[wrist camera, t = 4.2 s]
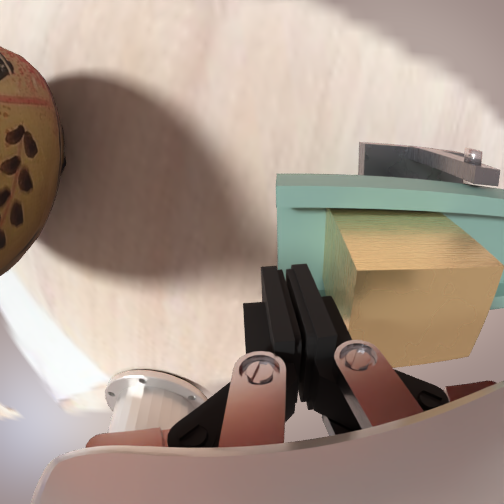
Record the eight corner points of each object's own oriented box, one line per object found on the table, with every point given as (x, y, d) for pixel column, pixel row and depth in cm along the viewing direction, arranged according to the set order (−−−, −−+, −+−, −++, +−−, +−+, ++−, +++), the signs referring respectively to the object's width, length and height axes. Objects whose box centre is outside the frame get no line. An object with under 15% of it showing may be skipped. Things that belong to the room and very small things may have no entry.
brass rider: (418, 275, 16) (468, 356, 10) (322, 277, 17) (339, 371, 10) (430, 204, 14) (504, 265, 8) (326, 201, 15) (357, 270, 8)
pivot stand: (440, 264, 25) (492, 314, 17) (349, 274, 25) (391, 339, 17) (458, 142, 20) (531, 163, 12) (359, 130, 19) (426, 144, 12)
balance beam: (543, 281, 16) (568, 307, 13) (278, 292, 19) (276, 337, 15) (565, 201, 13) (597, 220, 9) (276, 173, 16) (275, 194, 12)
